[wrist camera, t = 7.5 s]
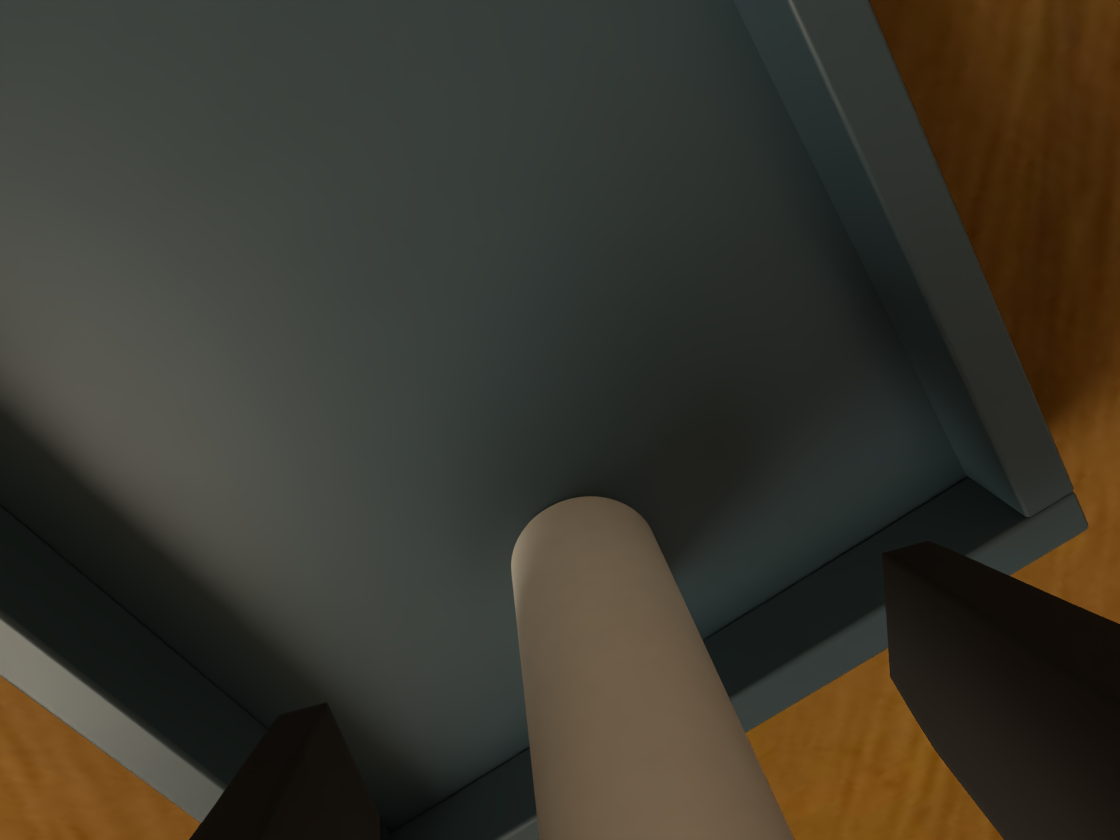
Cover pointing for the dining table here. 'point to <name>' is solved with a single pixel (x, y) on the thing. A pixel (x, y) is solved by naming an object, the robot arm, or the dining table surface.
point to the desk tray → (469, 363)
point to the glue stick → (625, 691)
